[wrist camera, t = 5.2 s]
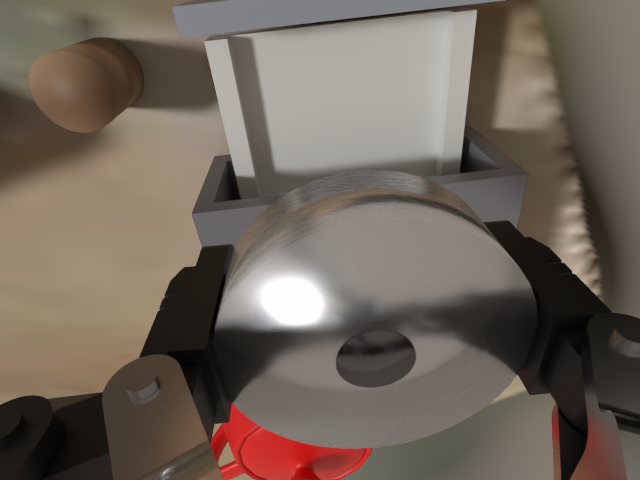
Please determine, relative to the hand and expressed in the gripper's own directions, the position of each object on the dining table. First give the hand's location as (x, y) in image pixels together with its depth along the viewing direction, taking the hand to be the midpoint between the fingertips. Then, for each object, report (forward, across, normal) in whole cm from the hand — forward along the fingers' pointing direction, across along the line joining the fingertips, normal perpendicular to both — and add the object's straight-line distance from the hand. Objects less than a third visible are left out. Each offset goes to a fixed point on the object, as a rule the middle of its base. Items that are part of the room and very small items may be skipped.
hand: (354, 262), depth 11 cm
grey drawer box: (+17, -1, 0) cm, 17 cm away
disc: (-1, 0, 0) cm, 1 cm away
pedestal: (+18, +13, -2) cm, 22 cm away
